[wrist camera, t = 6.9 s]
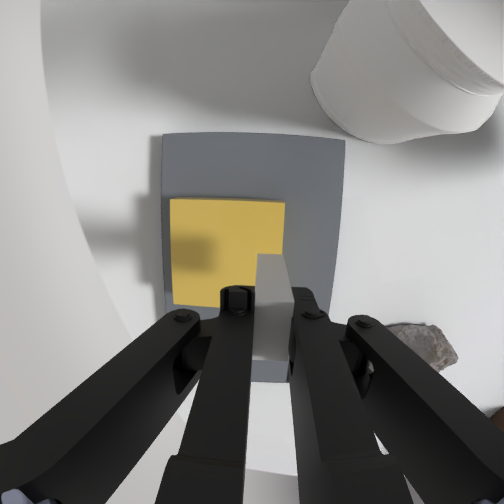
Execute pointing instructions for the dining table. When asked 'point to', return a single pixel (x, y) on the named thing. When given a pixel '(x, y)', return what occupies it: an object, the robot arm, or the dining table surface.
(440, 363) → the stone
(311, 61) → the dining table surface
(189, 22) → the dining table surface
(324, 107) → the jar
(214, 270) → the yellow block
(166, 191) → the slate board
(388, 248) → the dining table surface
